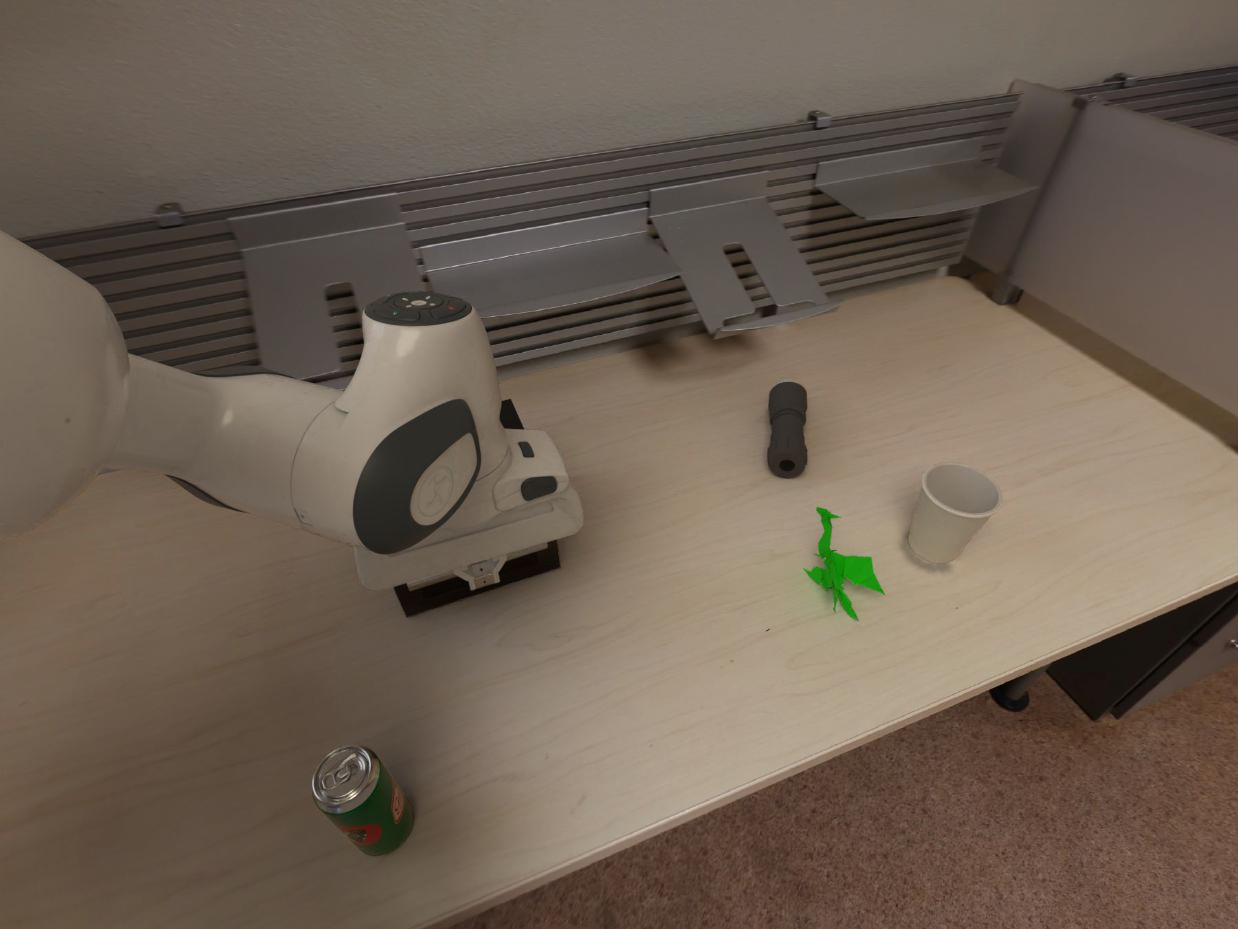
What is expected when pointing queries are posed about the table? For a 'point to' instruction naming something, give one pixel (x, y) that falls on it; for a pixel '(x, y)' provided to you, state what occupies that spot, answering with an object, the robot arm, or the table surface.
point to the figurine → (841, 567)
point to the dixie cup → (951, 510)
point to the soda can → (362, 799)
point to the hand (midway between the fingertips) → (484, 581)
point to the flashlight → (787, 429)
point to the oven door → (454, 588)
